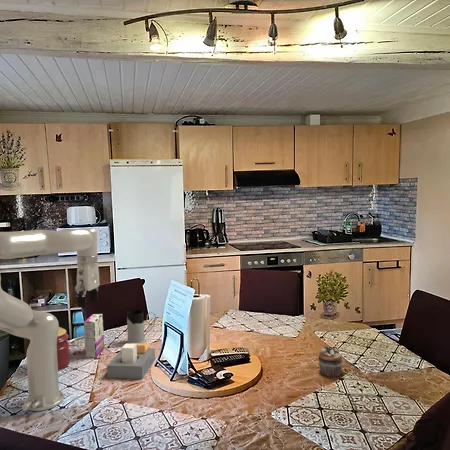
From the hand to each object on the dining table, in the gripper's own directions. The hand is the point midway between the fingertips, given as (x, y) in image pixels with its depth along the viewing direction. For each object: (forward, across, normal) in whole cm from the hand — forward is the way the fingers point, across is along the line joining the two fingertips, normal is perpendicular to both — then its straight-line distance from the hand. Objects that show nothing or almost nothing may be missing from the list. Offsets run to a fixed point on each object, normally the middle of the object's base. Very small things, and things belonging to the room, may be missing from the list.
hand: (88, 303), depth 156 cm
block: (+28, +6, -14) cm, 32 cm away
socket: (+28, +9, -14) cm, 33 cm away
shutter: (+23, +16, -14) cm, 32 cm away
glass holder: (+28, +38, -8) cm, 48 cm away
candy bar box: (+28, +22, +8) cm, 37 cm away
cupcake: (+28, +15, -94) cm, 99 cm away
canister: (+29, +8, +20) cm, 36 cm away
